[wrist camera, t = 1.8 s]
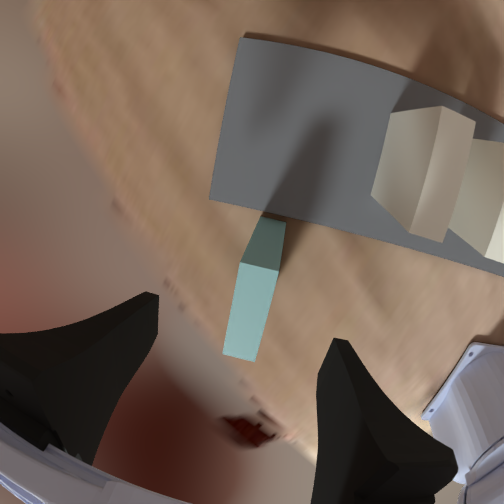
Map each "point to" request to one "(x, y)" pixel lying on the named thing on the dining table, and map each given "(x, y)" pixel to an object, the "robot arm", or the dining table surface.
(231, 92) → the charcoal mat
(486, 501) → the robot arm
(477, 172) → the ivory domino
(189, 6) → the dining table surface
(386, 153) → the ivory domino
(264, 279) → the teal domino
